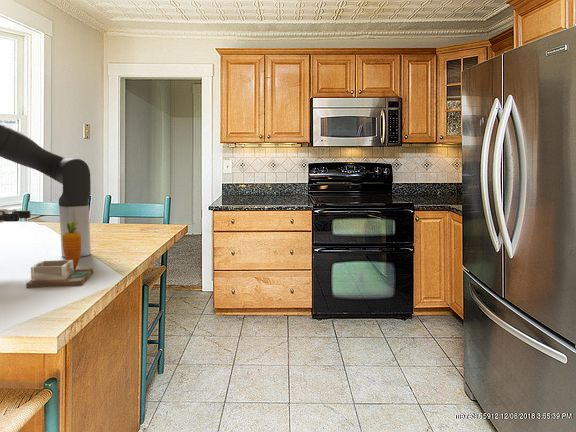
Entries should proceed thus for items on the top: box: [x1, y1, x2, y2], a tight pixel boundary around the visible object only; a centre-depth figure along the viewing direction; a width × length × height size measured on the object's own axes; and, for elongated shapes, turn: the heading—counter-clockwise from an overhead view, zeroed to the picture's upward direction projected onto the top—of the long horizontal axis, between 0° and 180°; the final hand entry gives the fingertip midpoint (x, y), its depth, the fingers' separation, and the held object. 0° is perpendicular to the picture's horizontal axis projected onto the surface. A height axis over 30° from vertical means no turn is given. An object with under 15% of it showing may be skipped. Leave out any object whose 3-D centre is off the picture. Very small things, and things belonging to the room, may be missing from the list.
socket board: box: [25, 259, 94, 289], centre depth 123 cm, size 14×13×5 cm
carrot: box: [62, 220, 81, 270], centre depth 133 cm, size 5×5×15 cm
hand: (24, 215), depth 130 cm, fingers open, 8 cm apart
